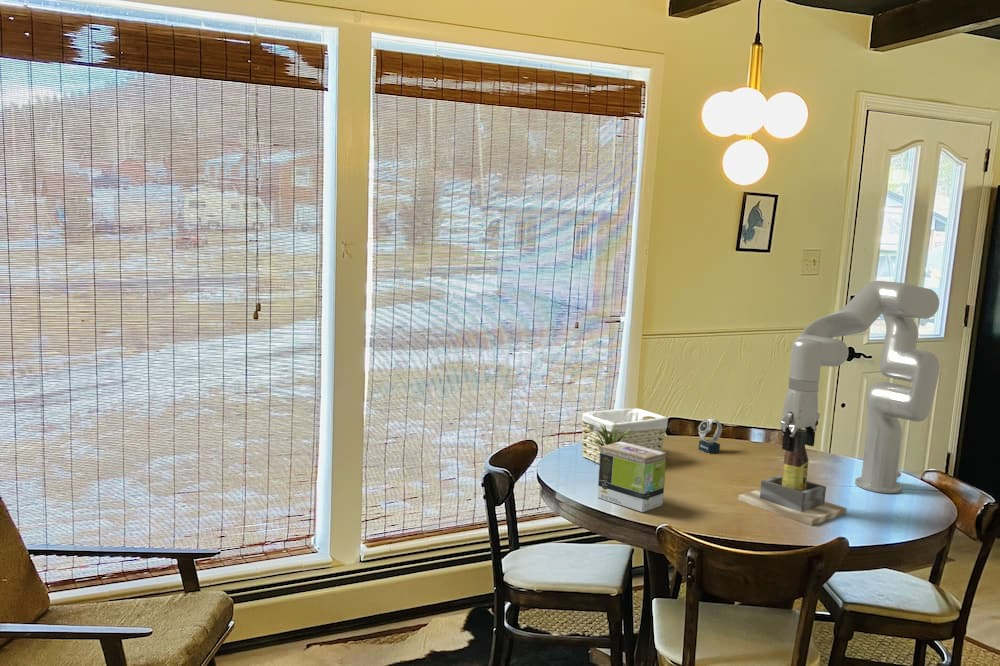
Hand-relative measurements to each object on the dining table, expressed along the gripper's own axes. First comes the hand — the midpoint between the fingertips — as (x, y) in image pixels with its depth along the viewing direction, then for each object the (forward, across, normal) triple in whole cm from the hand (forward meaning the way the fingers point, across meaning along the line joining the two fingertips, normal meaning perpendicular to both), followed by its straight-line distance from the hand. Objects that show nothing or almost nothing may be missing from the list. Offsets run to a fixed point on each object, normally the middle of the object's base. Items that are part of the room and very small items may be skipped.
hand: (798, 447), depth 217 cm
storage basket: (+17, +8, -55) cm, 58 cm away
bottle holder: (+16, +1, 0) cm, 17 cm away
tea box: (+16, +37, -26) cm, 48 cm away
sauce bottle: (+15, +1, 0) cm, 15 cm away
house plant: (+16, +26, -46) cm, 55 cm away
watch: (+17, -25, -47) cm, 56 cm away
